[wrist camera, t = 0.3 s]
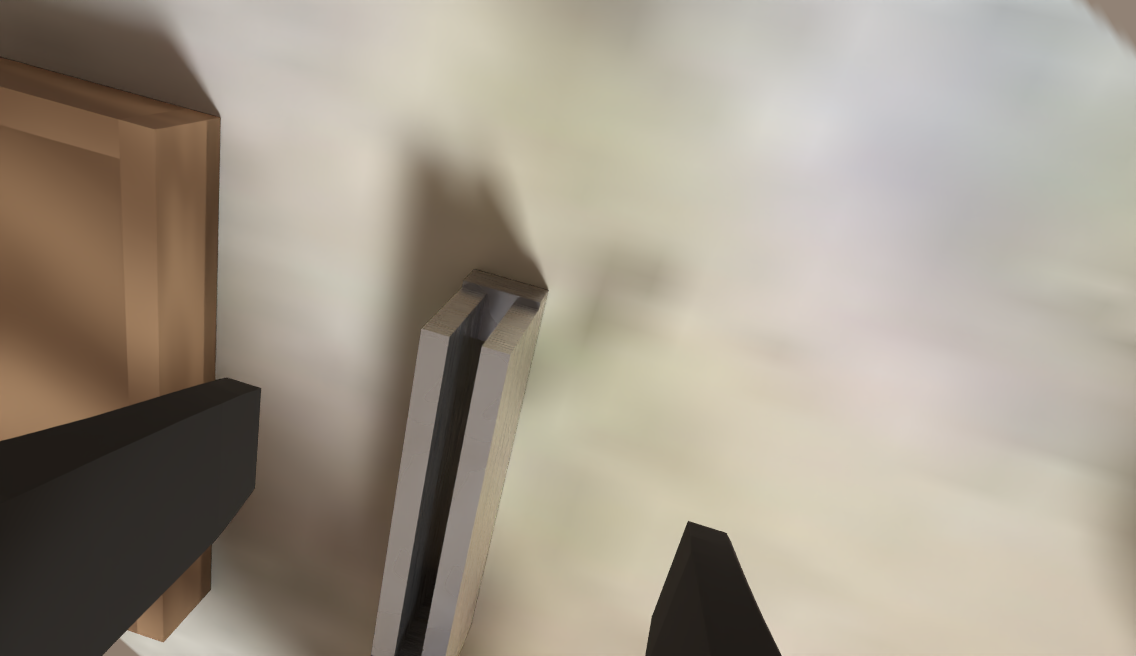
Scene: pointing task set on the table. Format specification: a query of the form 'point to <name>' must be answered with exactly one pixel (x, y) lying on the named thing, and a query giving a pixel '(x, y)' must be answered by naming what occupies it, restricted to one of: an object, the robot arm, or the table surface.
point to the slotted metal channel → (455, 462)
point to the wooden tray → (105, 263)
